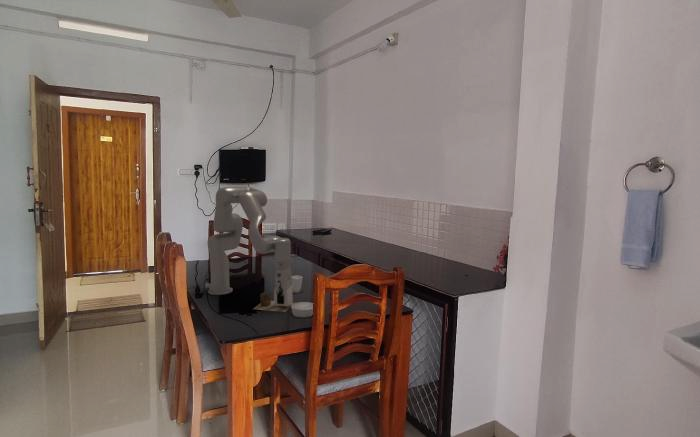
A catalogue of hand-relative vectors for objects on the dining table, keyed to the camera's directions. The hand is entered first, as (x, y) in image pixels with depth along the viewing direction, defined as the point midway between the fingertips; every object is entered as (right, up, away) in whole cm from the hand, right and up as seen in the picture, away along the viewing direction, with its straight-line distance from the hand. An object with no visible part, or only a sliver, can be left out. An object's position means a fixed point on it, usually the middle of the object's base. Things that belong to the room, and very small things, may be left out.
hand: (283, 301), depth 204 cm
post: (0, -3, 0) cm, 3 cm away
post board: (-4, -4, +2) cm, 6 cm away
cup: (+1, -1, +30) cm, 30 cm away
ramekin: (+11, -6, -9) cm, 15 cm away
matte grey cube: (0, -1, 0) cm, 1 cm away
